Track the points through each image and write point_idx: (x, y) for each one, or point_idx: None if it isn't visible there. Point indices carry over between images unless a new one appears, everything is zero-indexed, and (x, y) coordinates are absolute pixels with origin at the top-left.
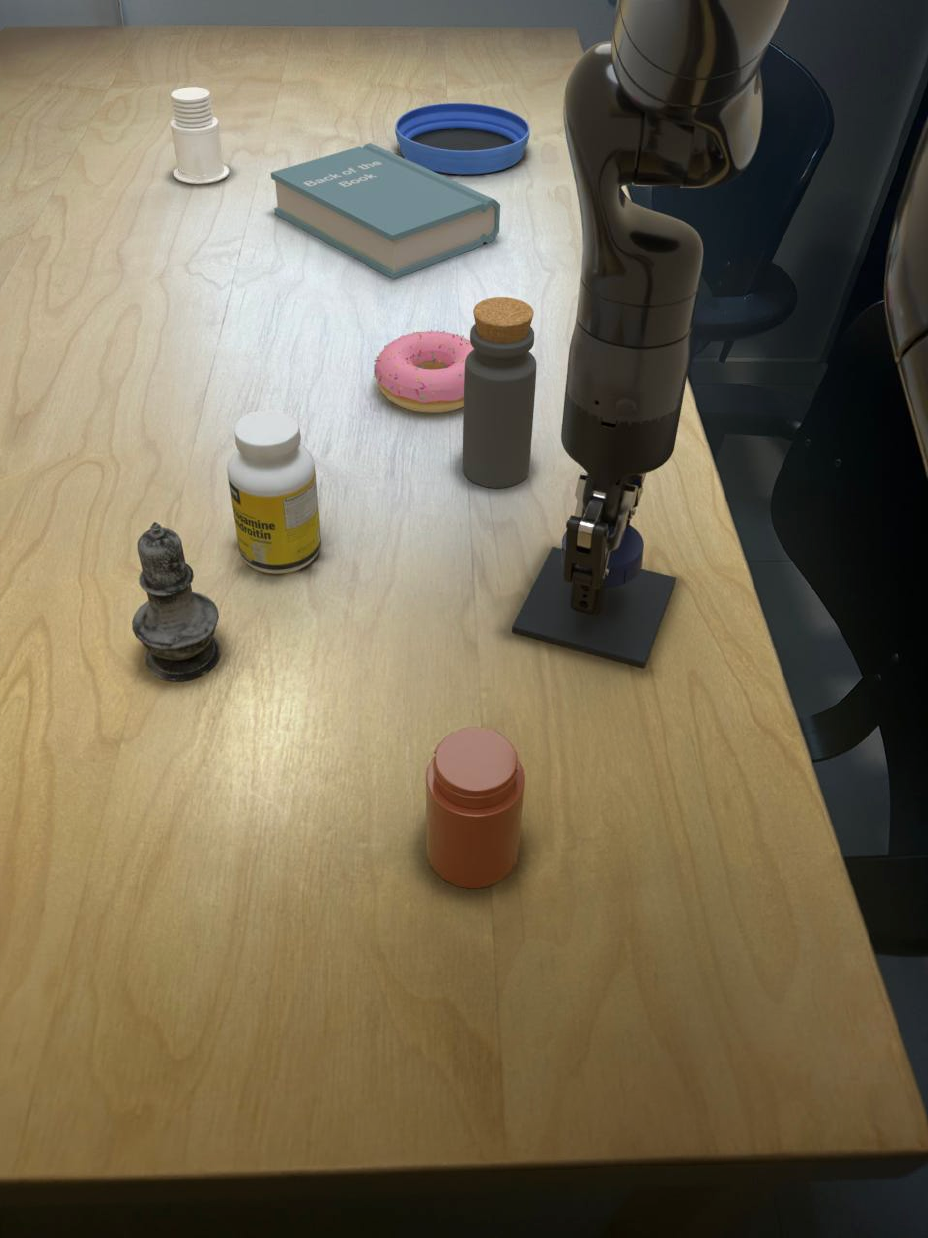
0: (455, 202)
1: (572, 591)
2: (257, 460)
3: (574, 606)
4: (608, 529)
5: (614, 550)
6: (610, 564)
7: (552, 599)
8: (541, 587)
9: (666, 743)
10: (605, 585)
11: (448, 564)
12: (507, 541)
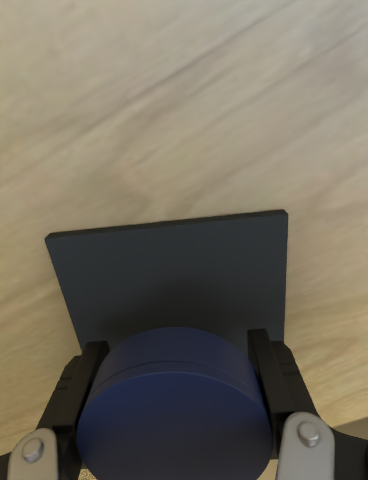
0: None
1: (75, 371)
2: None
3: (67, 365)
4: (226, 446)
5: (156, 472)
6: (107, 477)
7: (145, 268)
8: (164, 241)
9: (15, 434)
10: None
11: (149, 13)
12: (286, 109)
